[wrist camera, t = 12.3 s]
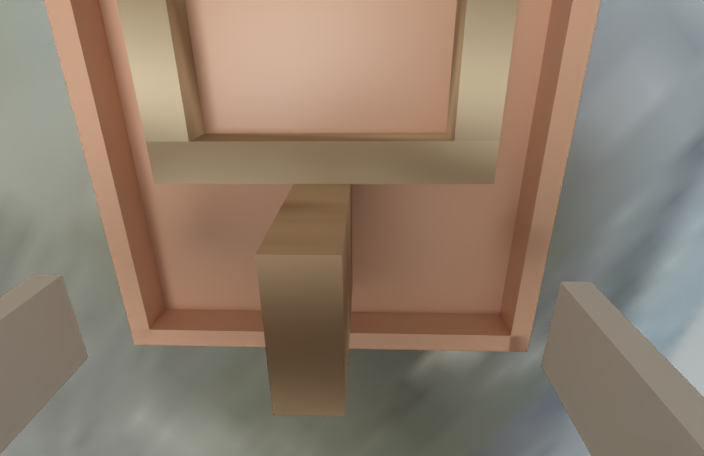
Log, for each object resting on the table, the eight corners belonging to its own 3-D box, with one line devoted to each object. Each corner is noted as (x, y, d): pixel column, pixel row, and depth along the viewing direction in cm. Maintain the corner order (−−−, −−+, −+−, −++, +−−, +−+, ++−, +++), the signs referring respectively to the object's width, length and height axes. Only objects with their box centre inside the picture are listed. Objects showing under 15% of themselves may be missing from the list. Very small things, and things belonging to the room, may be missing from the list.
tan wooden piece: (469, 285, 18) (528, 420, 11) (193, 283, 18) (97, 411, 12) (535, -267, 11) (781, -728, 4) (93, -253, 11) (-270, -659, 5)
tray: (511, 322, 19) (527, 351, 17) (156, 317, 19) (134, 344, 18) (640, -385, 10) (700, -480, 8) (0, -364, 11) (-74, -449, 9)
